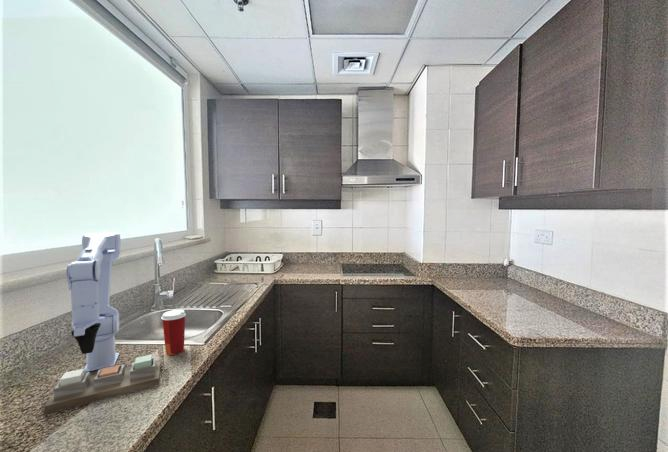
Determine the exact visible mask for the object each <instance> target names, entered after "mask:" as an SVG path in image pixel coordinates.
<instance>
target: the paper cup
mask: <svg viewBox="0 0 668 452" xmlns="http://www.w3.org/2000/svg"><path fill="white" fill-rule="evenodd" d="M186 316H187V314H186V312H185V310H184V309H173V310H168V311H165V312H163V313H162V316H161V318H160V319H161V320H162V331H163V339H164V340H163V341H164V349H165V354H166V355H167V356H174V355H179V354H180V353H181V354H182V353H183V352H184V351H185V350H184V349H185V330H186V329H185V327H186Z"/></svg>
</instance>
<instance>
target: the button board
mask: <svg viewBox="0 0 668 452" xmlns="http://www.w3.org/2000/svg"><path fill="white" fill-rule="evenodd" d="M161 363H162V362H161V359H159V360H157V357H152V366H149V367H145V368H141V369H136V370H135V365H134V364H135V361H133V362H132V363H131V366H126V367H125V363H123V364H119V365H120V372H119V373H118V374H114V375H109V376H105V377H100V378H99V375H100V373H101V371H102V369H98V371H97V372H96V373H94V374H91V371H89V372H84V376H85V377H84V379H83V380H82V382H78V383H74V384H69V385H65V386H60V380H59V381H58V382H57V384H56V385H55V387H54V388H53V393H52V394H51V396H50V397H49V399H48V400H47V401H46V403H45V405H44V407H43V408H44V414H45V415H46V414H51V413H54V412H55V413H56V412H59V411H63V410H68V409H70V408H74V407H78V406H82V405H86V404H90V403H94V402H97V401H98V402H99V401H102V400H105V399H106V400H107V399H110V398H114V397H117V395H118V396H122V395H125V394H130V393H133V392H139V391H142V390H144V389H149V388H155V387H157V386H160V379H161V365H162V364H161Z"/></svg>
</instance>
